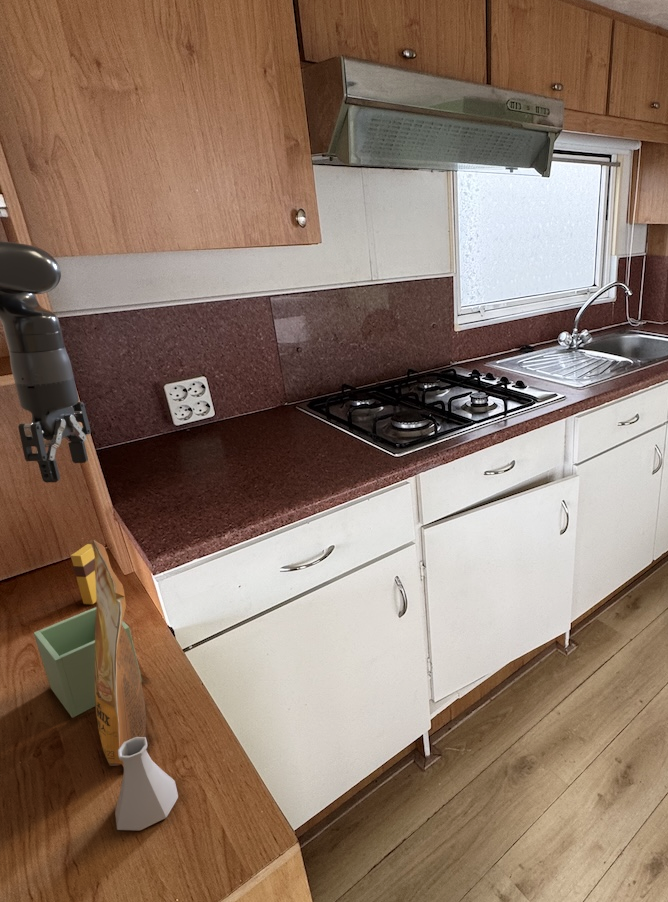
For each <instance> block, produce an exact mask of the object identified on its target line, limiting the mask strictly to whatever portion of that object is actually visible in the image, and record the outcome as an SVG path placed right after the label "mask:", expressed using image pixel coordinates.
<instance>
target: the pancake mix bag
mask: <svg viewBox="0 0 668 902" xmlns="http://www.w3.org/2000/svg"><path fill="white" fill-rule="evenodd" d="M89 543H90V544H91V545H92V548H93V551H94V555H95V580H96V602H95V603H96V605H95V607H96V620H95V706H94V708H95V715H96V721H97V729H98V734H99V739H100V743H101V748H102V751H103V754H104V757H105V758H106V761H107V763H108V765H109V766H110V767H112V766H122V768H123V769H124V764H123V761H122V760H119V756H118V749H119V748H120V747H121V745H122V744H123V743H124V742H125V741H128V740H130V739H133V738H135V737H146V738H147V735H146V734H147V711H146V709H147V708H146V701H145V698H144V691H143V686H142V682H141V679H140V675H139V670H140V669H139V670H138V666H139V665H138V666H137V663H136V660H135V656H134V653H133V649H132V646H131V643H130V640H129V638H128V635H127V633H126V631H125V629H124V627H123V625H122V621H123V622H124V617H125V613H126V609H127V602H126V595H125V589H124V584H122V582H121V581H120V580H119V578H118V575H116V573H115V572H114V570H113V568H112V565H111V563H110V559H109V555H108V552H107V550H106V547H105V546H104V545H103V544H101V543H100V542H98V541H97V540H95V539H90V540H89Z"/></svg>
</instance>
